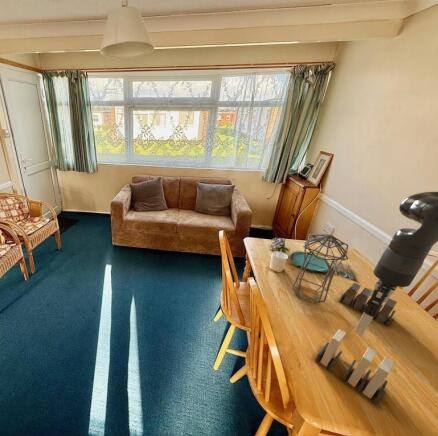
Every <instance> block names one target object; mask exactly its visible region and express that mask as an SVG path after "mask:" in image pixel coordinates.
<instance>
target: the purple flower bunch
mask: <svg viewBox="0 0 438 436" xmlns="http://www.w3.org/2000/svg"><path fill="white" fill-rule="evenodd" d="M270 242H271V244H270V250H274V249H275V250H276V251H279V252H283V253H285V254H286V253H287V252H290V251H291V248H288V247H286V238H282V237H279V238H278V237H274V238H271V240H270Z"/></svg>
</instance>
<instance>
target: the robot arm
mask: <svg viewBox="0 0 438 436" xmlns="http://www.w3.org/2000/svg"><path fill="white" fill-rule="evenodd" d="M398 210H399V212H400V214H401V215H402V216H403V217H405V218H407V219H409V220H411V221H413V222H416V223H418V224H420V227H418V228H417V229H416V228H410V227H403V228H400V229H397V231H396V232H395V233H394V234H393V237H392V239H391V240H390V242H389V243H388V246H387V247H386V249H385V250H384V251H383V253H382V254H381V256H380V257H379V260H378V262H377V264H376V266H375V268H374V270H373V275H374V277H376V278H377V279H378V280H377V281H376V283H375V284H374V288H373V289H372V292H371V294H370V297H369V299H370V300H369V299H368V300H369V302H368V301H367V302H366V303H368V304H367V305H368V306H367V308H366V310H364V312H365V314H367V315H369V316H371V317H374V316H375V314H376V312H377V311H378V309H380V308H381V305H384V303H386V302H387V300H388V299H389V298H390V297H391V296H392V295H393V294H394V293H395V291H396V290H397V288H398V287H399V288H407V287H409V286H411V284H412V282H413V281H414V279H415V278H416V276H417V275H418V273H419V272H420V270H421V268H422V267H423V264H424V262H425V259H426V258H427V256H428V255H429V253H430V252H431V250H432V248H433V246H434V245H435V244H436V243H438V191H422V192H418V193H413V194H411V195H408V196H407V197H405V198H404V199H403V200H402V201H401V202H400V203H399V209H398ZM374 301H375V302H374ZM376 302H377V303H376ZM381 309H382V308H381ZM364 312H363V313H364Z"/></svg>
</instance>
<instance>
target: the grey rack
mask: <svg viewBox="0 0 438 436" xmlns="http://www.w3.org/2000/svg"><path fill="white" fill-rule="evenodd" d="M360 288H362V285H360V284H359V283H356V282H353V283H352V284H351V285H350V286H349V288H348V289H346V290H345V292H344V293H343V294H341V296H340V299H339V301H338V303H342V304H345V305H346V306H349V308H350V309H352V308H353V309H354V310H356V311H358V312H360V314H364V311H365V310H366V308H367V306H368V305H367V304H368V303H367V302H369V300H370V297H371V293H372V292H373V289H369V288H368V287H364V288H363V289H362V290H361V292H360ZM397 303H398V301H397V300H395V299H392V298H390V297H389V298H388V300H387V302H384V304H382V305H381V308H380V309H378V311H377V312H376V314H375V316H374V317H373V319H372V321H373V320H376V321H378V322H380V323H381V324H384V326H385V327H388V324H390V323H391V321H392V320H393V316H394V315H395V313H396V310H395V309H394V308H395V307H396V305H397Z"/></svg>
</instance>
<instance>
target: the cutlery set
mask: <svg viewBox="0 0 438 436" xmlns="http://www.w3.org/2000/svg"><path fill="white" fill-rule="evenodd" d="M304 253H305V251H301V250H300V251H293V252H292V253H291V255H290V260H292V264H293V265H294V266H295V267H298V266H299V267H300V268H301V267H302V265H303V262H304ZM311 254H312V253H309V254H308V257H307V259H306V260H307V262H308V260H309V258H310V256H311ZM317 257H319V258H323V259H324V257H323V256H322V255H318V256H317ZM315 258H316V257H315V256H314V255H312V257H311V259H310V262H309V263H312V264H315V265H318V266H321V267H324V268H327V269H328V267H327V264H326V262H325V260H322V259H318V258H317V259H315ZM313 259H315V260H313ZM311 260H312V261H311ZM326 261H327V263H328V266H329V267H330V265H331V264H330V263H329V260H326ZM307 262H305V264H304V266H303V269H304V268H305V266H306V263H307ZM339 263H340V262H339ZM312 264H308V266H307V268H306V270H308V271H311V272H316V273H317V272H318V273H327V272H328V270H327V269H324V268H321V267H318V266H315V265H312ZM334 264H335V261H334V262H333V265H334ZM339 266H340V269H341V271H339V275H340V276H341V277H342V278H347V277H349V279H350V280H352V281H353V280H354V274H353V273H352V272H351V268H350V264H347V266H346V267H347V270H348V271H347V272H348V273H346V272H345V271H344V270H343V269H344V268H343V263H342V262H341V263H340V264H339ZM336 267H337V266H336ZM336 267H335V268H336ZM334 274H335V275H336V276H338V272H337V268H336V269H335V272H334Z"/></svg>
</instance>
